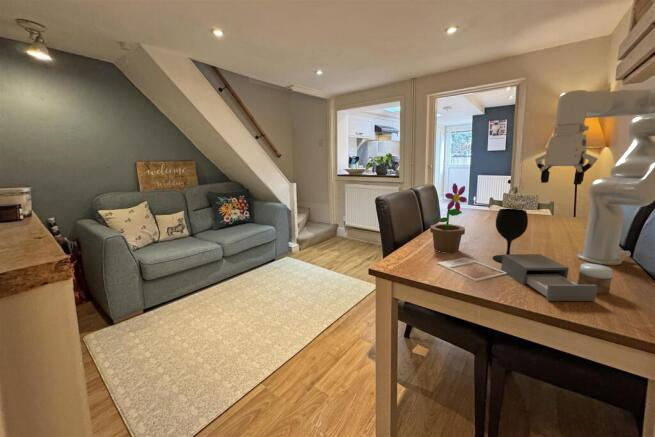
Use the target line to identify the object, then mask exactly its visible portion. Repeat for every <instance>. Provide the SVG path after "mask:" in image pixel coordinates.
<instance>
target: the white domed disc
mask: <svg viewBox="0 0 655 437" xmlns="http://www.w3.org/2000/svg"><path fill="white" fill-rule="evenodd" d="M580 272H581V273H582V274H584V275H587V276H591V277H595V278H603V279H608V278H611V277H612V278H613V272H614V271H613V268H611V267H609V266H607V265H603V264H598V263H590V262H589V263H581V264H580V268H579V273H580Z"/></svg>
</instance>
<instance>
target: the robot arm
mask: <svg viewBox="0 0 655 437" xmlns="http://www.w3.org/2000/svg"><path fill="white" fill-rule="evenodd" d="M623 116H625V117H627V116H628V117H629V116H631V117H632V116H634V117H633V118H632V120H631V121H630V122H629V124H628V131H627V132H628V148H627V149H626V151H624V153H623V154H622V155H621V156H620V157H619V159H618V160H617V161H616V162H615V163H614V165H613V166H612V168H611V170H610V176H607V177H605V176H604V177H600V178H597V179H595V180H593V182H592V183H591V184H590V185H589V188H588V195H589V196H588V197H589V210H588V218H587V223H586V224H587V225H586V230H585V236H584V237H585V238H584V242H583V243H584V244H583V248H582V251H580V252H577V255H576V256H577V258H578V259H581V260H583V261H585V262H589V263H592V264H597V265H604V266H607V265H608V266H618V265H622V263H623V260H622V258H621V257H630V256H631V254H632V253H631V251H630V250H621V249H619V248H620V247H619V246H620V241H621V235H622V230H623V225H624V220H625V215H624V212H623V209H622V208H621V207H620V205H622V206H630V207H631V206H632V207H646V206H649V205H651V204H653V202H654V201H655V140H654V139H653V138H652V137H655V87H651V88H646V89H645V88H644V89H620V90H614V91H608V90H602V89H601V90H590V91H587V90H586V89H585V90H583V89H578V90H570V91H569V90H568V91H565V92H562V93H561V94H560V95H559V97H558V100H557V107H556V114H555V120H554V128H553V135H552V136H551V137H550V138H549V140H548V143H547V148H546V150H545V154H543V155H540V156H539V157H537V158H535V160H534V161H535V163H536V166H537V168H538V169H539V170H540V172H541V176H540V183H542V184H546V183H549V180H550V171H549V170H551V169H552V167H574V168H575V169H576V171H575V172H574V180H573V185H579V186H580V185H582V183H583V182H584V178H585V177H584V176H585V173H586V172H587V171H588V170H589V169H591V168H592V167H593V165H594V164H595V163H596V162H597V161H598V158H597V157H596V156H593V155H590V154H588V153H587V151H588V150H587V146H588V145H587V143H588V142H587V134H584V133H585V132H586V131H589V129H590V127H589V125H586V124H585V120H586V119H588V118H589V119H591V118H593V119H595V118H612V117H623ZM586 160H588V162H587V163H586ZM543 161H544V163H543ZM585 163H586V164H585Z"/></svg>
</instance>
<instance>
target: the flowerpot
mask: <svg viewBox="0 0 655 437" xmlns="http://www.w3.org/2000/svg"><path fill="white" fill-rule="evenodd" d="M451 188H452V193H451V192H448V193H445V195H444V196H445V198H446V199H449V200H450V201H449V202H448V204H447V208H446V209H447V211H446V217H441V218H439V220H438V222H440V223H436V224H432V225H430V231H429V232H430V233H432V240H433V241H432V242H433V250H434V249H435V251H436V250H437V251H436V252H438V251H440V252H439V253H442V252H445V253H444V254H456V253H458V252H459V249H460V246H461V245H460V244H461V241H462V236H463V235H465V233H466V232H465V231H466V229H465V227H464V226H462V225H457V224H449V222H450V220H449V219H450V216H451V217H452V216H453V217H454V216H459V215H461V214H462V213H463V211H461V203H467V201H468V199H467V197H465V196H462V195H463V194H464V192H465V191H466V186H465V185H462V186H461V187H460V188H458V185H457V184H456V183H452V187H451ZM453 207H454V208H453ZM455 252H456V253H455Z"/></svg>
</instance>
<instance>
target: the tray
mask: <svg viewBox="0 0 655 437" xmlns="http://www.w3.org/2000/svg"><path fill="white" fill-rule="evenodd" d="M525 284H527V285H529V287H531V288H533V289H534V290H536V291H537V292H539V293H541V294H542V295H543V296H544V297H545V299H546V300H547V301H548V302H551V301H552V302H554V301H557V302H558V301H559V302H560V301H562V302H565V301H568V302H572V301H573V302H574V301H575V302H595V301H596V296H597V293H596V292H597V285H578V283H576V282H574V281H573V280H570V279H569V278H568V277H567V278H565V277H563V276H561V275H560V274H544V273H542V274H539V273H538V274H537V273H534V274H531V273H530V274H529V273H528V274H527V273H526V282H525Z"/></svg>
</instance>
